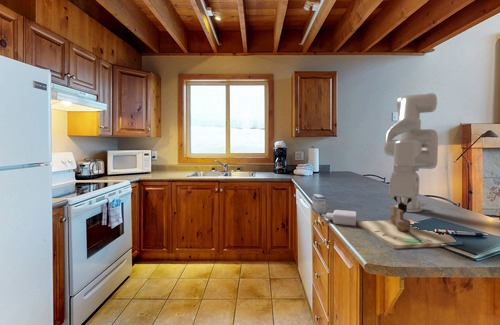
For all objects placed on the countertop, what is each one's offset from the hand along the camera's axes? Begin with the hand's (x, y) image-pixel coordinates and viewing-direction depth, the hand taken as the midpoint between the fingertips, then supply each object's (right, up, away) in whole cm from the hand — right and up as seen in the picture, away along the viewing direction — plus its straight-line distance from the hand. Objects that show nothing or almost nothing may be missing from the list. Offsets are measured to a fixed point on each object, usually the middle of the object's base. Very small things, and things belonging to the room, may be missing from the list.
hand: (402, 212), depth 108 cm
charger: (-24, -6, +10) cm, 26 cm away
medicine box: (-28, -5, +26) cm, 39 cm away
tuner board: (-3, -7, -7) cm, 10 cm away
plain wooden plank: (-4, -5, -7) cm, 10 cm away
